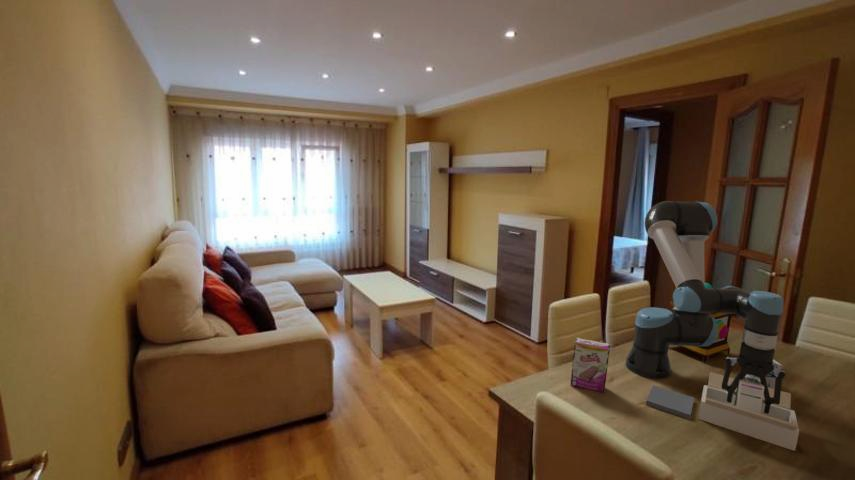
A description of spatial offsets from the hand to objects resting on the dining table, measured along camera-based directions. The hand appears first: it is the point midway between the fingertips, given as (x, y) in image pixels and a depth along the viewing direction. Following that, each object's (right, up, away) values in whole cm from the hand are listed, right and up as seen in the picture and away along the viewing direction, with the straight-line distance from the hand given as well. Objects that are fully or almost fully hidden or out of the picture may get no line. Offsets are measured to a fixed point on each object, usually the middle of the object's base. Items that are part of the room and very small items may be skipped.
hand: (745, 416), depth 119 cm
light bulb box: (+23, +1, +23) cm, 32 cm away
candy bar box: (-39, +2, +19) cm, 44 cm away
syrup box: (0, -3, 0) cm, 3 cm away
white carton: (0, -2, 0) cm, 2 cm away
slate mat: (-16, 0, +10) cm, 19 cm away
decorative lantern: (+18, +6, +49) cm, 53 cm away
